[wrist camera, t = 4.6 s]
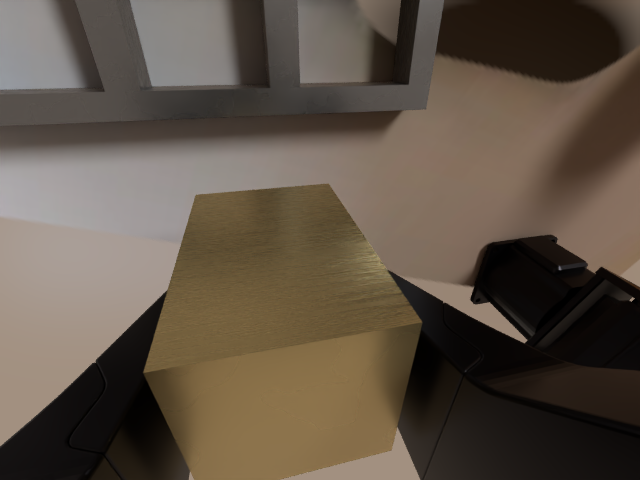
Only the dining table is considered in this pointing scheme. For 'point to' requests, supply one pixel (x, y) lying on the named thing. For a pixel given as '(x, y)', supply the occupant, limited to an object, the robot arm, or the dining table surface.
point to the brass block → (279, 338)
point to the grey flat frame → (226, 100)
